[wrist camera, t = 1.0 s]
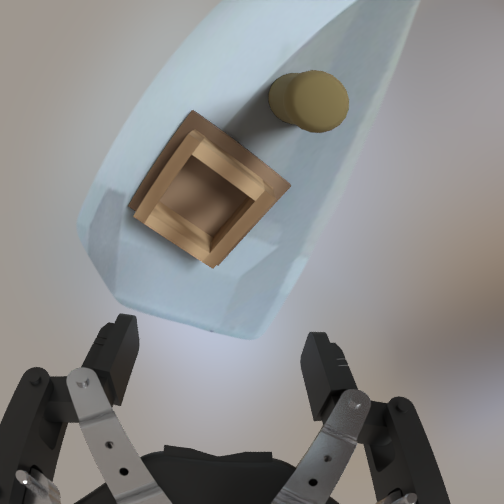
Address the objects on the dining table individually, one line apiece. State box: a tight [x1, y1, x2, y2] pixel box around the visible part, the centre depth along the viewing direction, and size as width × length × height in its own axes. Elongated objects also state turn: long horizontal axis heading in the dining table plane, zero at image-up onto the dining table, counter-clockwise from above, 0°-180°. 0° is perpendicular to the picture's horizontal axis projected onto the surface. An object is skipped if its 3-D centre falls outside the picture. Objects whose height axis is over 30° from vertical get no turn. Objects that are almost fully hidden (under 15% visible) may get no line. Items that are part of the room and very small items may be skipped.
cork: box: [268, 70, 349, 133], centre depth 23 cm, size 6×6×11 cm
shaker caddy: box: [128, 110, 291, 268], centre depth 31 cm, size 14×14×4 cm
